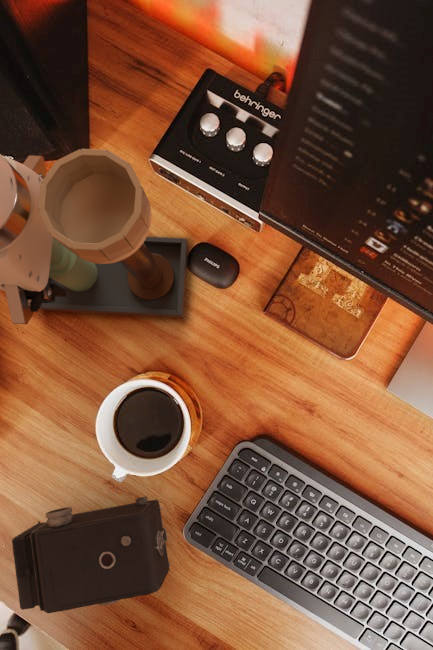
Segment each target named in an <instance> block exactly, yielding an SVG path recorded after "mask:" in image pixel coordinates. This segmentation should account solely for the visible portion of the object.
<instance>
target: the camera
mask: <svg viewBox="0 0 433 650" xmlns="http://www.w3.org/2000/svg"><path fill="white" fill-rule="evenodd" d="M134 500H135V502H133V503H127V504H123V505H116V506H111V507H106V508H105V507H104V508H99V509H94V510H88V511H83V512H77V513H73V508H72V506H67V507H61V508H57V509H52V510H50V511H47V512H45V518H46V521H44V522H41V521H37V523H36V524H34V525H32V526H31V527H29V528H28V529H26V530H24V531H22V532H21V533H19V534H18V535H16V536H14V537H13V538H12V540H11V544H12V545H11V546H12V553H13V561H14V570H15V577H16V584H17V585H16V587H17V593H18V600H19V602H18V603H19V608H20V609H21V610H22V611H23V610H29V609H30V610H31V609H35V608H36V607H38V608H39V610H40V611H41V612H43V611H44V612H45V614H53V613H60V612H64V611H65V612H66V611H70V610H74V609H79V608H85V607H91V606H96V605H99V606H109V605H113V604H116V603H118V602H119V601H121V600H126V599H131V598H132V599H133V598H137V597H142V596H148V595H151V594H154V593H157V592H158V591H159V590H160V589H161V588H162V586H163V584H164V582H165V580H166V577H167V575H168V573H169V571H170V570H171V568H170V567H171V565H172V564H171V562H170V560H169V554H168V550H167V549H168V547H167V543H166V542H168V540H169V539H168V533H167V528H165V527H164V526H163V519H162V513H161V510H162V509H163V507H162V506H160V501H159V499H151V500H148V496H141V497H137V498H134Z"/></svg>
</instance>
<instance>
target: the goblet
mask: <svg viewBox="0 0 433 650" xmlns="http://www.w3.org/2000/svg"><path fill="white" fill-rule="evenodd" d="M38 212H39V214H40V217H41V219H42V221H43V223H44V225H45V227H46V229H47V231H48V233H49V234H50V235H51V236H52V237H53V238H54V239H55V240H57V241H58V242H59V243H60V244H62V245H63V246H64V247H65V248H67V249H68V250H70V251H71V252H73V253H74V254H75V255H77V256H78V257H80V258H82V259H83V260H86V261H88V262H92V263H97V264H109V263H115V262H118V261H119V262H120V263H121V264H122V265H123V266H124V267H125V268H126V269H127V270H128V274H127V281H128V285H129V287H130V289H131V290H132V292H133V293H134V294H135V295H137V296H138V297H139V298H141V299H144V300H148V301H155V300H159V299H161V298H163V297H165V296H166V295H167V294H168V293H169V292H170V291H171V289H172V287H173V285H174V281H175V274H174V270H173V267H172V266H171V264H170V262H169V261H168V260H167V259H166V258H164V257H163V256H161V255H158V254H153V253H150V252H149V250H148V249H147V247H146V245H145V244H144V241H145V239H146V237H148V235H149V233H150V229H151V226H152V208H151V202H150V200H149V198H148V196H147V194H146V191H145V190H144V187H143V185H142V183H141V181H140V179H139V178H138V176H137V174H136V172H135V169H134V168H133V165H132V164H131V163H130V162H128V161H127V160H125V159H123V158H122V157H120V156H119V155H117V154H116V153H114V152H112V151H111V150H108V149H99V148H98V149H97V148H96V149H95V148H79V149H77V150H75V151H73V152H71V153H69V154H67V155H65V156H63V157H61V158H59V159H57V160H56V161H54V163H53V164H52V166H51V167H50V169H49V170H48V171H47V173H46V176H45V177H44V179H43V180H42V182H41V184H40V191H39V201H38Z"/></svg>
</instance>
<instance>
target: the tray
mask: <svg viewBox="0 0 433 650" xmlns="http://www.w3.org/2000/svg"><path fill="white" fill-rule="evenodd" d="M188 241H189V240H188V239H187V238H185V237H182V238H181V237H165V236H164V237H162V236H147V237H146V239H145V241H144V244H145V245H146V247H147V249H148V250H149V252H150V253H153V254H158V255H161V256H163V257H164V258H166V259H167V260H168V261H169V262H170V264H171V266H172V267H173V270H174V274H175V281H174V285H173V287H172V289H171V291H170V292H169V293H168V294H167V295H166V296H165V297H163V298H161V299H159V300H155V301H148V300H144V299H141V298H139V297H138V296H137V295H135V294H134V293H133V292H132V290H131V289H130V287H129V285H128V281H127V274H128V270H127V269H126V268H125V267H124V266H123V265H122V264H121V263H120V262H119V261H118V262H115V263H109V264H97V263H95V265H96V267H97V272H98V275H97V279H96V282H95V283H94V285H93V286H92V287H91V288H89V289H88V290H86V291H82V292H76V291H72V290H70V289H69V288H67V287H65V286H64V285H62V284H60V283H58V282H57V281H55V280H53V279H52V278H50V277H49V278H48V282H49V283H54V284H56V285H58V286H60V287H61V288H63V289H65V291H66V297H58V296H55V301H54V302H48V301H43V302H42V304H41V306H40V308H39V310H41V311H43V312H58V313H59V312H62V313H80V314H98V315H99V314H100V315H116V316H117V315H118V316H137V317H154V318H155V317H156V318H157V317H158V318H175V319H176V318H177V319H184V317H185V315H184V314H185V302H186V300H185V299H186V286H187V285H186V284H187V272H188V256H189V242H188Z"/></svg>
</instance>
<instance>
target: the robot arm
mask: <svg viewBox="0 0 433 650" xmlns="http://www.w3.org/2000/svg"><path fill="white" fill-rule="evenodd" d="M47 173H48V171H47V166H46V162H45V158H44V156H43V155H41V154H40V155H38V154H37V155H36V154H29V155H27V157H26V159H25V160H24V162H23V163H21V162H19V161H17V160H16V159H15V160H14V159H13V158H11V157H7V156H5V155H2V154H1V153H0V291H3V292H5V297H6V301H7V305H8V310H9V314H10V319H11V323H12V324H13V325H28V323H29V322H30V321H31V319H32V318H33V316H34V313H37V312H39V310H40V309H39V308H40V306H41V304H42V302H43V301H48V302H54V301H55V296H58V297H66V291H65V289H63V288H61V287H60V286H58V285H56V284H54V283H49V282H48V278H49V270H50V261H51V251H52V241H53V237H52V236H51V235H50V234H49V233H48V231H47V229H46V227H45V225H44V223H43V221H42V219H41V217H40V214H39V212H38V201H39V191H40V184H41V182H42V180H43V179H44V177H45V176H46V174H47Z"/></svg>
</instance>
